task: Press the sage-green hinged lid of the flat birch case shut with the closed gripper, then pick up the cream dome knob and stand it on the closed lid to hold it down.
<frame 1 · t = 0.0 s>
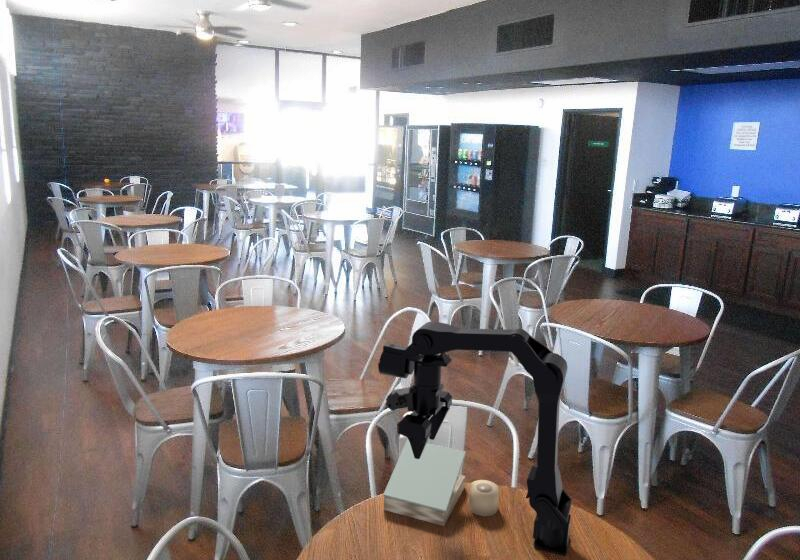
hand: (424, 448, 129), 15 cm above the table, fingers open, 9 cm apart
box: (425, 498, 136), on the table
lid: (425, 473, 134), point 7 cm above the table, hinge at 25.0°
medicine bottle: (413, 457, 154), on the table
cream dome knob: (483, 507, 133), on the table
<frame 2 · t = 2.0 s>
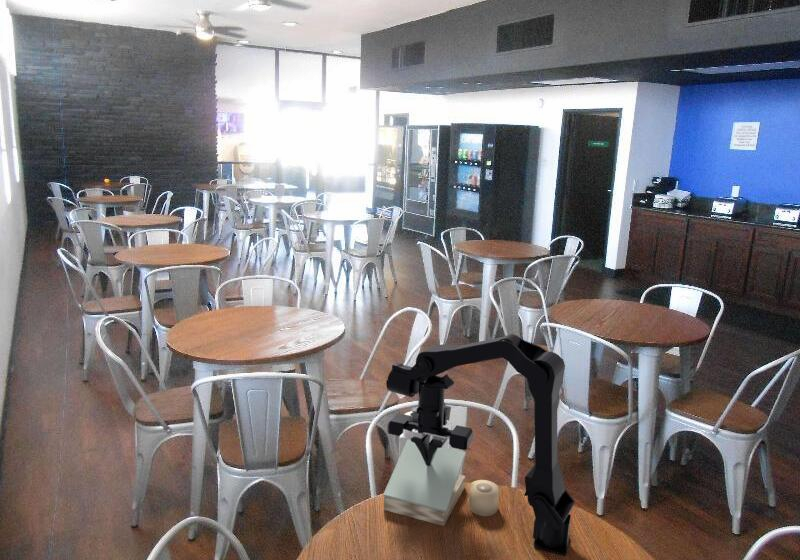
hand: (428, 464, 135), 8 cm above the table, fingers closed, pressing on lid
lid: (425, 473, 134), point 7 cm above the table, hinge at 24.1°, touching gripper
everything else where it was.
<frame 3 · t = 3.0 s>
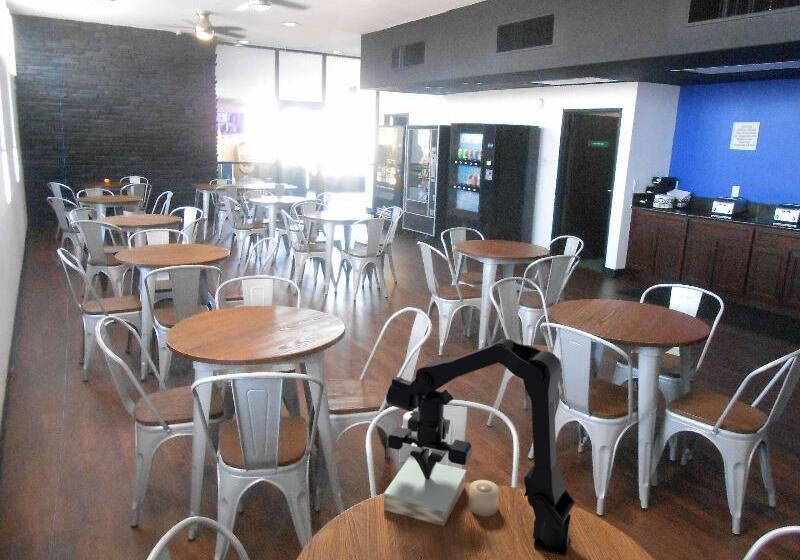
hand: (427, 478, 136), 4 cm above the table, fingers closed, pressing on lid
lid: (426, 482, 135), point 4 cm above the table, hinge at 2.9°, touching gripper
everything else where it was.
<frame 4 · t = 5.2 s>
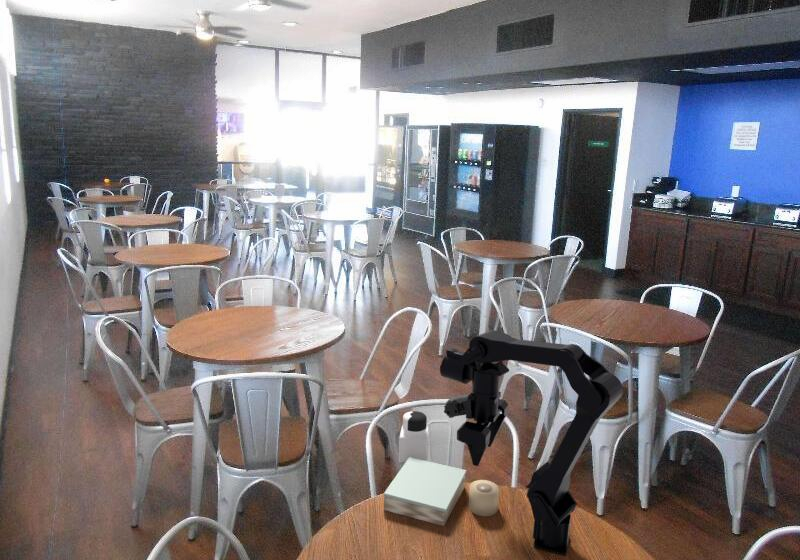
hand: (482, 455, 130), 13 cm above the table, fingers open, 9 cm apart
lid: (426, 482, 135), point 4 cm above the table, hinge at 2.7°
everything else where it was.
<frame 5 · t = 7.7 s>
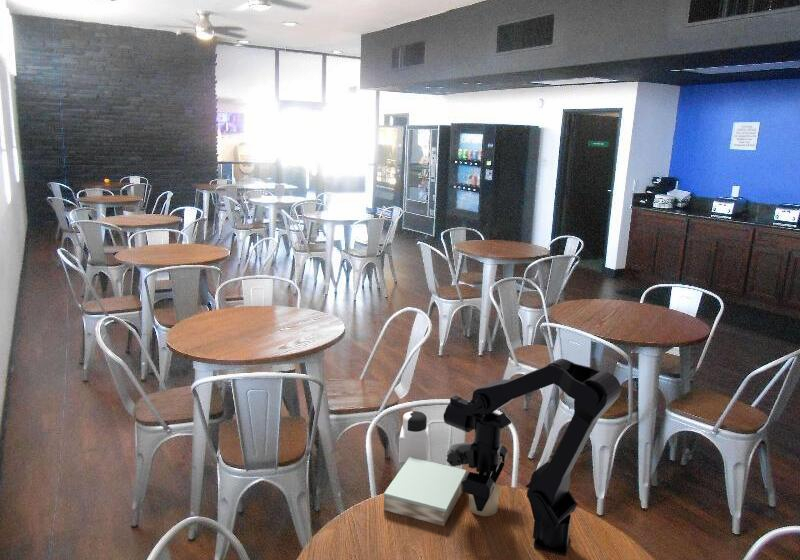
hand: (483, 502, 133), 1 cm above the table, fingers closed on cream dome knob, 6 cm apart
cream dome knob: (483, 507, 133), on the table, touching gripper
everything else where it was.
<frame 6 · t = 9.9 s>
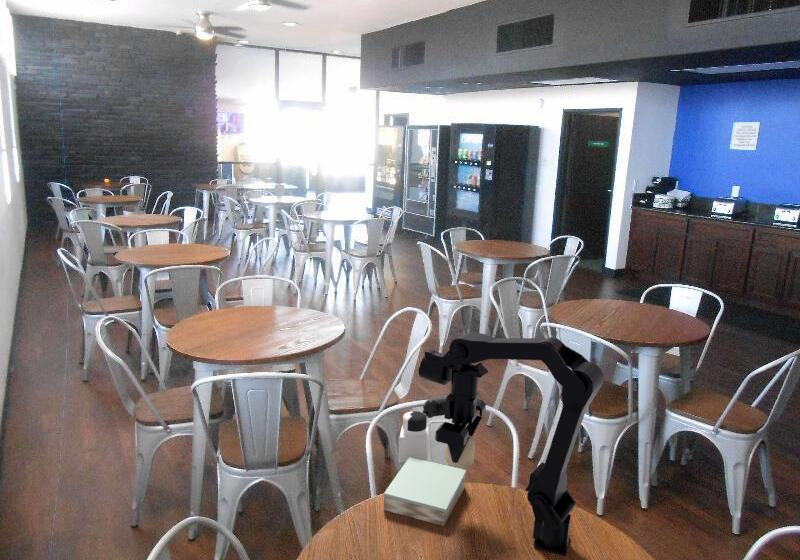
hand: (459, 455, 132), 12 cm above the table, fingers closed on cream dome knob, 6 cm apart
cream dome knob: (459, 460, 132), point 11 cm above the table, touching gripper
everything else where it was.
when the fingers open (6 cm above the table, at t = 12.6 s): cream dome knob stays where it is, resting on lid.
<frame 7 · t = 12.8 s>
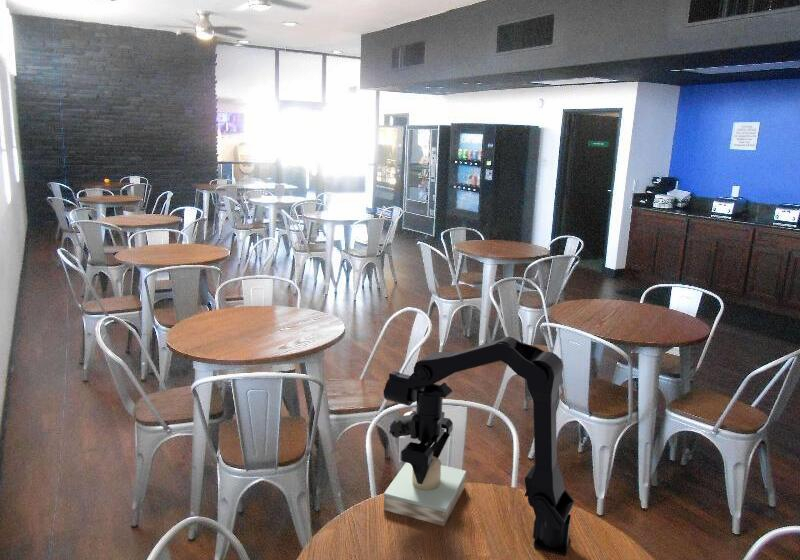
hand: (426, 473, 134), 6 cm above the table, fingers open, 9 cm apart
lid: (426, 483, 135), point 4 cm above the table, hinge at 2.0°, touching cream dome knob
cream dome knob: (426, 482, 135), point 4 cm above the table, touching lid
everything else where it was.
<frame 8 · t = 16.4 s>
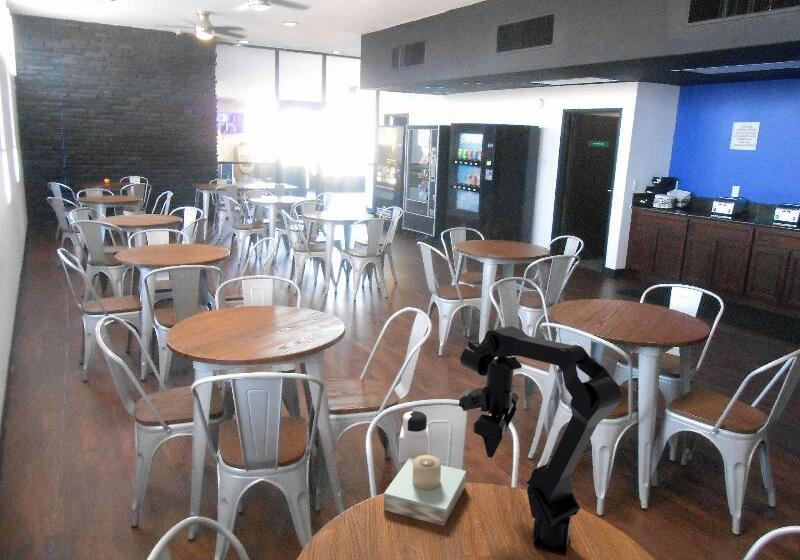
hand: (494, 447, 133), 13 cm above the table, fingers open, 9 cm apart
nothing on the table moved.
at the end: lid at +2° (first picture: +25°); cream dome knob inside the target area on the box (0.0 cm from its centre), point 4.1 cm above the box's base; cream dome knob tilted 2° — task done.
